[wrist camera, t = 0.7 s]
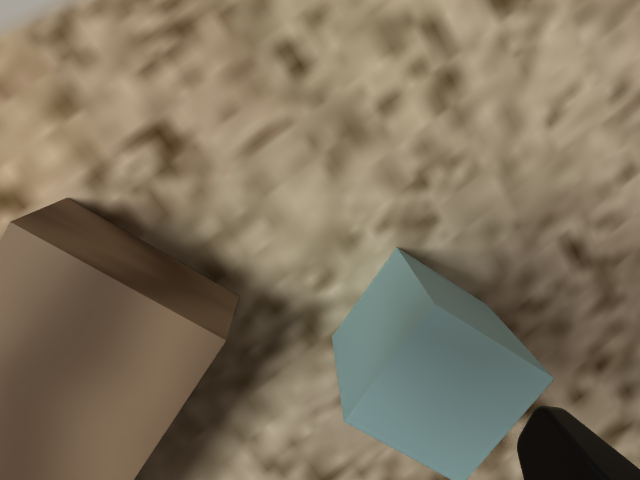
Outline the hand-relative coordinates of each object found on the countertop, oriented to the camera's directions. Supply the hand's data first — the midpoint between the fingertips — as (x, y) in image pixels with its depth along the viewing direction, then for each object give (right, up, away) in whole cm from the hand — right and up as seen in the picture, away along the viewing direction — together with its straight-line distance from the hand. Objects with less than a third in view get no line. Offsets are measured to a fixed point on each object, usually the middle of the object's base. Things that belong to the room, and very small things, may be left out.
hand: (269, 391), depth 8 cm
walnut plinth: (-12, -6, +15) cm, 20 cm away
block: (+5, -1, +14) cm, 15 cm away
